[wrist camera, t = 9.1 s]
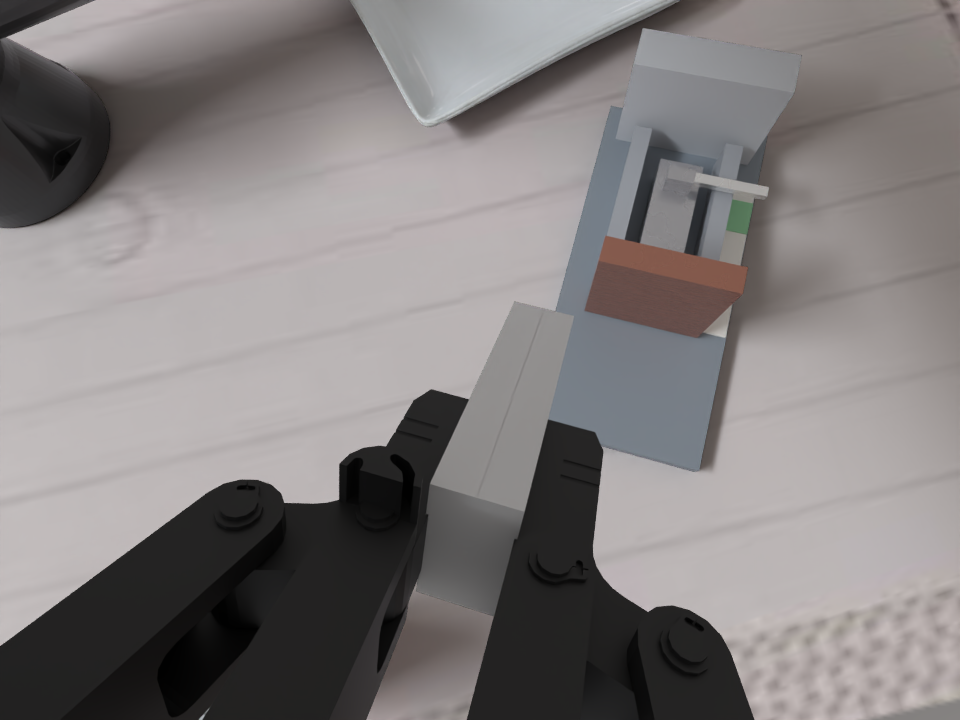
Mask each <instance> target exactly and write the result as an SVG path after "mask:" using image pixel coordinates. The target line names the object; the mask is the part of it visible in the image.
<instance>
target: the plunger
mask: <svg viewBox="0 0 960 720" xmlns="http://www.w3.org/2000/svg"><path fill="white" fill-rule="evenodd" d="M702 172H703V167H701V166H696V165H691V164H686V163H681V162H676V161H671V160H666V159H661V160H660V162H659V165H658V167H657V170H656V173H655V175H654V178H653V182H652V186H651V191H650V195H649V199H648V203H647V207H646V211H645V215H644V219H643V223H642V227H641V231H640V235H639V239H638V243H637V242H632V241H628V240H623V239H619V238H614V237H610V236H605V239H604V242H603V246H602V249H601V252H600V256H599V259H598V263H597V266H596V270H595V273H594V277H593V280H592V284H591V287H590V291H589V295H588V298H587V302H586V306H585V310H584V311H587V312H591V313H595V314H599V315H603V316H608V317H612V318H616V319H620V320H624V321H628V322H632V323H636V324H640V325H645V326H649V327H653V328H657V329H661V330H665V331H669V332H673V333H677V334H682V335H686V336H690V337H694V338H698V337H699V336H700V335H701V334H702V333H703V332H704V331H705V330H706V329H707V328H708V327H709V326H710V325H711V324H712V323H713V322H714V321H715V320H716V319H717V318H718V317H719V316H720V315H721V314H722V313H723V312H725V311H726V310H727V309H728V308H729V307H730V306H731V305H732V304H733V303H734V302H735V301H736V300H737V299H738V298H739V297H740V296H741V295H742V294H743V290H744V286H745V281H746V276H747V271H748V267H744V266H740V265H735V264H731V263H726V262H722V261H717V260H713V259H708V258H704V257H699V256H695V255H690V254H686V253H684V251H685V246H686V242H687V238H688V233H689V229H690V224H691V220H692V216H693V211H694V207H695V202H696V198H697V194H698V189H699V187H703V188H707V189H712V190H717V191H722V192H727V193H732V194H736V195H741V196H746V197H751V198H756V199H761V200H765V199H766V197H767V195H768V190H769V187H766V186H761V185H756V184H751V183H746V182H741V181H736V180H731V179H726V178H721V177H716V176H711V175H707V174H702Z"/></svg>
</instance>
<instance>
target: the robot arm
mask: <svg viewBox="0 0 960 720" xmlns="http://www.w3.org/2000/svg"><path fill="white" fill-rule="evenodd" d="M92 1H94V0H0V227H3V228H12V227H21V226H27V225H31V224H34V223H37V222H40V221H43V220H45V219H47V218H50V217H52V216H53V215H55V214H57V213H59V212H60V211H62V210H64V209H65V208H66V207H68V206H69V205H70V204H72V203H73V202H74V201H75V200H76V199H77V198H79V197H80V196H81V195H82V194H83V193H84V191H85V190H86V189H87V188H88V187H89V186H90V184H91V183H92V182H93V180H94V179H95V177H96V176H97V174H98V172H99V170H100V168H101V166H102V164H103V162H104V160H105V157H106V154H107V150H108V145H109V138H110V125H109V119H108V115H107V112H106V109H105V107H104V105H103V103H102V101H101V100H100V98H99V97H98V96H97V94H96V93H95V92H94V91H93V90H92V89H91V88H90V87H89V86H87V85H86V84H85V83H84V82H83V81H82V80H81V79H80V78H79V77H78V76H77V75H76V74H74V73H73V72H72V71H70V70H69V69H68V68H66V67H65V66H63V65H61V64H59V63H57V62H54V61H52V60H49V59H47V58H45V57H43V56H41V55H39V54H37V53H35V52H34V51H32V50H30V49H28V48H26V47H24V46H22V45H20V44H18V43H16V42H14V41H12V40H10V39H8V38H6V37H7V36H10V35H12V34H15V33H17V32H20V31H22V30H24V29H27V28H29V27H32V26H34V25H36V24H39V23H41V22H44V21H46V20H48V19H51V18H53V17H56V16H58V15H61V14H63V13H65V12H68V11H70V10H73V9H75V8H77V7H80V6H82V5H85V4H87V3H90V2H92ZM573 319H574V316H572V315H568V314H564V313H560V312H556V311H552V310H548V309H544V308H539V307H535V306H531V305H527V304H523V303H519V302H514V304H513V306H512V308H511V311H510V313H509V315H508V317H507V319H506V321H505V323H504V326H503V328H502V330H501V332H500V334H499V336H498V338H497V341H496V343H495V345H494V347H493V349H492V351H491V354H490V356H489V358H488V360H487V362H486V364H485V366H484V369H483V371H482V373H481V375H480V377H479V379H478V381H477V384H476V386H475V388H474V390H473V392H472V394H471V397H470V399H465V398H461V397H458V396H454V395H450V394H447V393H443V392H439V391H436V390H432V389H431V390H429V391H428V392H426V393H425V394H423V395H422V396H420V397H419V398H417V399H416V400H414V401H413V403H412V404H411V406H410V408H409V409H408V411H407V413H406V414H405V416H404V419H403V420H402V421H401V423H400V424H399V426H398V428H397V429H396V433H394V434H393V436H392V438H391V439H390V441H389V443H388V444H387V446H386V447H385V446H375V447H367V448H362V449H360V450H358V451H356V452H353V453H351V454H349V455H348V456H347V457H346V458H345V459H344V460H343V461H342V462H341V463H340V464H339V500H337V501H333V502H329V503H318V504H302V503H284V501H283V498H282V495H281V493H280V492H279V491H278V490H277V489H276V488H274V487H273V486H272V485H270V484H268V483H265V482H262V481H259V480H237V481H233V482H229V483H225V484H222V485H221V486H219V487H217V488H215V489H213V490H211V491H210V492H208V493H207V494H205V495H204V496H203V497H201V498H200V499H198V500H197V501H196V502H194V503H193V504H192V505H190V506H189V507H188V508H186V509H185V510H184V511H182V512H181V513H180V514H178V515H177V516H176V517H174V518H173V519H171V520H170V521H169V522H167V523H166V524H165V525H163V526H162V527H161V528H159V529H158V530H157V531H155V532H154V533H153V534H151V535H150V536H149V537H147V538H146V539H144V540H143V541H142V542H140V543H139V544H138V545H136V546H135V547H134V548H132V549H131V550H130V551H128V552H127V553H126V554H124V555H123V556H121V557H120V558H119V559H117V560H116V561H115V562H113V563H112V564H111V565H109V566H108V567H107V568H105V569H104V570H103V571H101V572H100V573H99V574H97V575H96V576H94V577H93V578H92V579H90V580H89V581H88V582H86V583H85V584H84V585H82V586H81V587H80V588H78V589H77V590H76V591H74V592H73V593H71V594H70V595H69V596H67V597H66V598H65V599H63V600H62V601H61V602H59V603H58V604H57V605H55V606H54V607H53V608H51V609H50V610H49V611H47V612H46V613H44V614H43V615H42V616H40V617H39V618H38V619H36V620H35V621H34V622H32V623H31V624H30V625H28V626H27V627H26V628H24V629H23V630H22V631H20V632H19V633H17V634H16V635H15V636H13V637H12V638H11V639H9V640H8V641H7V642H5V643H4V644H3V645H1V646H0V720H199V719H200V718H201V717H202V715H203V714H204V713H205V712H206V711H207V710H208V709H209V710H208V711H207V713H206V715H205V716H204V718H203V719H202V720H366V719H367V716H368V714H369V711H370V709H371V706H372V704H373V701H374V699H375V696H376V694H377V691H378V689H379V686H380V684H381V681H382V679H383V676H384V674H385V671H386V668H387V666H388V663H389V661H390V658H391V656H392V653H393V651H394V648H395V646H396V643H397V641H398V638H399V636H400V633H401V631H402V628H403V626H404V623H405V621H406V615H407V609H408V601H409V599H410V596H411V594H412V591H413V589H414V586H415V584H416V582H417V588H416V591H417V592H420V593H423V594H426V595H429V596H432V597H435V598H439V599H442V600H445V601H448V602H451V603H454V604H457V605H460V606H463V607H467V608H470V609H473V610H476V611H479V612H482V613H485V614H488V615H491V616H494V619H493V622H492V626H491V630H490V634H489V638H488V641H487V645H486V649H485V653H484V657H483V660H482V664H481V668H480V672H479V676H478V679H477V683H476V687H475V691H474V695H473V698H472V702H471V706H470V710H469V714H468V717H467V720H754V717H753V715H752V712H751V709H750V706H749V703H748V700H747V698H746V695H745V692H744V689H743V686H742V683H741V681H740V678H739V675H738V672H737V669H736V667H735V664H734V661H733V658H732V655H731V653H730V651H729V649H728V647H727V645H726V643H725V642H724V640H723V638H722V636H721V635H720V634H719V633H718V632H717V631H716V630H715V629H714V628H713V627H712V625H711V624H710V623H709V622H708V621H707V620H705V619H703V618H702V617H700V616H698V615H697V614H695V613H693V612H692V611H690V610H687V609H683V608H680V607H676V606H662V607H656V608H654V609H652V610H651V611H649V612H647V611H645V610H644V609H642V608H641V607H639V606H637V605H636V604H634V603H633V602H631V601H629V600H628V599H626V598H625V597H623V596H622V595H621V594H619V593H618V592H617V591H615V590H614V589H613V588H612V587H611V586H610V585H609V584H608V583H607V582H606V581H605V580H604V578H603V577H602V575H601V574H600V572H599V570H598V569H597V567H596V564H595V560H594V557H593V539H594V530H595V521H596V513H597V504H598V495H599V485H600V477H601V468H602V459H603V449H602V447H601V444H600V442H599V440H598V437H597V435H596V433H595V432H593V431H589V430H586V429H582V428H578V427H575V426H571V425H567V424H564V423H560V422H556V421H552V420H549V419H548V417H549V413H550V410H551V406H552V402H553V398H554V394H555V390H556V386H557V382H558V378H559V374H560V370H561V366H562V362H563V358H564V354H565V350H566V346H567V343H568V339H569V335H570V331H571V327H572V323H573ZM417 579H418V580H417Z"/></svg>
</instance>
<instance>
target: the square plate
mask: <svg viewBox="0 0 960 720" xmlns="http://www.w3.org/2000/svg"><path fill="white" fill-rule="evenodd" d="M678 1H680V0H350V2H351V3H352V5H353V7H354V8H355V10H356V12H357V13H358V15H359V17H360V18H361V20H362V22H363V24H364V25H365V27H366V29H367V31H368V32H369V34H370V36H371V38H372V40H373V42H374V43H375V45H376V47H377V49H378V51H379V53H380V55H381V56H382V58H383V60H384V62H385V64H386V66H387V68H388V69H389V71H390V73H391V75H392V77H393V79H394V81H395V83H396V85H397V86H398V88H399V90H400V92H401V94H402V96H403V97H404V99H405V101H406V103H407V105H408V106H409V108H410V110H411V111H412V113H413V114H414V116H415V117H416V118H417V120H418V121H419V122H420V123H421V124H422V125H423V126H426V127H433V126H436V125H438V124H441V123H443V122H445V121H447V120H449V119H451V118H453V117H455V116H457V115H459V114H461V113H462V112H464V111H466V110H468V109H470V108H472V107H474V106H475V105H477V104H479V103H481V102H483V101H485V100H487V99H488V98H490V97H492V96H494V95H495V94H497V93H499V92H501V91H502V90H504V89H506V88H508V87H510V86H511V85H513V84H515V83H517V82H519V81H521V80H523V79H524V78H526V77H528V76H530V75H532V74H534V73H536V72H537V71H539V70H541V69H543V68H545V67H547V66H549V65H550V64H552V63H554V62H556V61H558V60H560V59H562V58H564V57H566V56H568V55H570V54H572V53H574V52H576V51H578V50H580V49H582V48H584V47H586V46H588V45H590V44H592V43H594V42H596V41H598V40H600V39H602V38H604V37H607V36H609V35H611V34H613V33H615V32H617V31H619V30H621V29H623V28H626V27H628V26H630V25H632V24H634V23H636V22H639V21H641V20H643V19H645V18H647V17H649V16H651V15H653V14H655V13H657V12H659V11H661V10H663V9H665V8H667V7H669V6H671V5H673V4H675V3H676V2H678Z"/></svg>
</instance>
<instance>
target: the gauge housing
mask: <svg viewBox="0 0 960 720" xmlns="http://www.w3.org/2000/svg"><path fill="white" fill-rule="evenodd" d="M801 58H802V55H799V54H793V53H787V52H781V51H775V50H769V49H764V48H758V47H752V46H746V45H740V44H734V43H728V42H722V41H717V40H711V39H705V38H699V37H693V36H687V35H681V34H675V33H669V32H664V31H658V30H652V29H646V28H643V30H642V34H641V37H640V41H639V45H638V49H637V52H636V56H635V60H634V64H633V68H632V72H631V76H630V80H629V85H628V89H627V93H626V97H625V101H624V106H623V108H619V107H614V106H611V108H610V112H609V115H608V119H607V123H606V126H605V130H604V134H603V138H602V141H601V145H600V149H599V152H598V156H597V160H596V163H595V167H594V171H593V174H592V178H591V182H590V185H589V189H588V193H587V196H586V200H585V204H584V208H583V211H582V215H581V219H580V222H579V226H578V230H577V233H576V237H575V241H574V244H573V248H572V252H571V255H570V259H569V263H568V267H567V270H566V274H565V278H564V281H563V285H562V289H561V292H560V296H559V300H558V303H557V307H556V312H560V313H564V314H568V315H572V316H574V319H573V323H572V327H571V331H570V335H569V339H568V343H567V346H566V350H565V354H564V358H563V362H562V366H561V370H560V374H559V378H558V382H557V386H556V390H555V394H554V398H553V402H552V406H551V410H550V413H549V417H548V419H549V420H552V421H556V422H560V423H564V424H567V425H571V426H575V427H578V428H582V429H586V430H589V431H593V432H595V433H596V435H597V437H598V440H599V442H600V444H601V446H602V447H606V448H610V449H613V450H617V451H621V452H624V453H628V454H631V455H635V456H639V457H642V458H646V459H650V460H653V461H657V462H660V463H664V464H668V465H671V466H675V467H679V468H682V469H686V470H689V471H693V472H696V471H699V469H700V464H701V459H702V454H703V449H704V444H705V440H706V435H707V430H708V425H709V420H710V415H711V410H712V405H713V400H714V396H715V391H716V386H717V381H718V376H719V371H720V366H721V361H722V356H723V351H724V347H725V342H726V337H727V332H728V327H729V322H730V317H731V312H732V307H733V304H732V305H731V306H730V307H729V308H728V309H727V310H726V311H725V312H723V313H722V314H721V315H720V316H719V317H718V318H717V319H716V320H715V321H714V322H713V323H712V324H711V325H710V326H709V327H708V328H707V329H706V330H705V331H704V332H703V333H702V334H701V335H700V336H699V337H698V338H694V337H690V336H686V335H682V334H677V333H673V332H669V331H665V330H661V329H657V328H653V327H649V326H645V325H640V324H636V323H632V322H628V321H624V320H620V319H616V318H612V317H608V316H603V315H599V314H595V313H591V312H587V311H584V310H585V306H586V302H587V298H588V295H589V291H590V287H591V284H592V280H593V277H594V273H595V270H596V266H597V263H598V259H599V256H600V252H601V249H602V246H603V242H604V239H605V236H610V237H614V238H619V239H623V240H628V241H632V242H637V243H638V239H639V235H640V231H641V227H642V223H643V219H644V215H645V211H646V207H647V203H648V199H649V195H650V191H651V186H652V182H653V178H654V175H655V173H656V170H657V167H658V165H659V162H660V160H661V159H666V160H671V161H676V162H681V163H686V164H691V165H696V166H701V167H703V172H702V174H707V175H711V176H716V177H721V178H726V179H731V180H736V181H741V182H746V183H751V184H756V185H758V180H759V175H760V170H761V166H762V161H763V156H764V151H765V146H766V141H767V134H768V133H769V131H770V130H771V128H772V127H773V125H774V124H775V122H776V121H777V119H778V117H779V116H780V114H781V113H782V111H783V110H784V108H785V107H786V105H787V104H788V102H789V101H790V99H791V98H792V96H793V94H794V93H795V88H796V83H797V78H798V73H799V68H800V63H801ZM754 200H755V198H751V197H746V196H741V195H736V194H732V193H727V192H722V191H717V190H712V189H707V188H703V187H699V189H698V194H697V198H696V202H695V207H694V211H693V216H692V220H691V224H690V229H689V233H688V238H687V242H686V246H685V251H684V253H686V254H690V255H695V256H699V257H704V258H708V259H713V260H717V261H722V262H726V263H731V264H735V265H740V266H741V263H742V259H743V254H744V249H745V244H746V239H747V234H748V229H749V224H750V219H751V214H752V210H753V205H754Z"/></svg>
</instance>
